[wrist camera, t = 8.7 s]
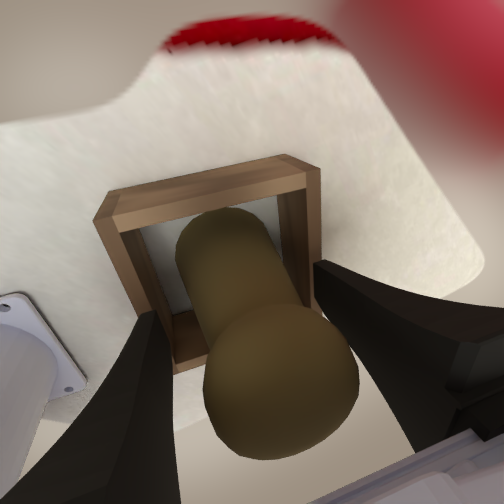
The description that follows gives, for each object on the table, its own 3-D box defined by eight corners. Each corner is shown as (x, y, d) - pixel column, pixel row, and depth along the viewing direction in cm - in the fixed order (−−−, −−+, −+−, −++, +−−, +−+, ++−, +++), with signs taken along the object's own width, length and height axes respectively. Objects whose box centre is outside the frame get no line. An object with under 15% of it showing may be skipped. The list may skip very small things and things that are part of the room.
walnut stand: (165, 327, 18) (166, 377, 15) (108, 191, 14) (92, 220, 10) (295, 287, 20) (322, 324, 17) (284, 153, 15) (320, 168, 12)
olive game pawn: (280, 271, 19) (394, 430, 10) (198, 307, 19) (238, 512, 9) (256, 191, 16) (392, 316, 7) (156, 231, 15) (153, 429, 6)
